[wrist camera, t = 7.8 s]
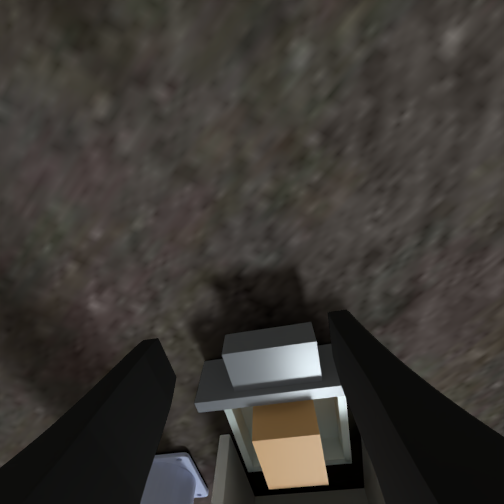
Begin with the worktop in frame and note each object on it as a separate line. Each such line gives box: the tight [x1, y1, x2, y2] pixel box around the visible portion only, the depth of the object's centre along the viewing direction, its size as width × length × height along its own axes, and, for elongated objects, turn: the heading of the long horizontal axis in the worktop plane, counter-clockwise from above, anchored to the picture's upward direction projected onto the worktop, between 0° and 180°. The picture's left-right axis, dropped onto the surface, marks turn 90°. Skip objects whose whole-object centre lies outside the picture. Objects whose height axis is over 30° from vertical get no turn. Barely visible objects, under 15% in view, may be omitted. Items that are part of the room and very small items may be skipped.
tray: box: [194, 322, 352, 472], centre depth 20 cm, size 12×15×4 cm
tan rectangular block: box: [252, 400, 329, 489], centre depth 20 cm, size 4×6×4 cm
